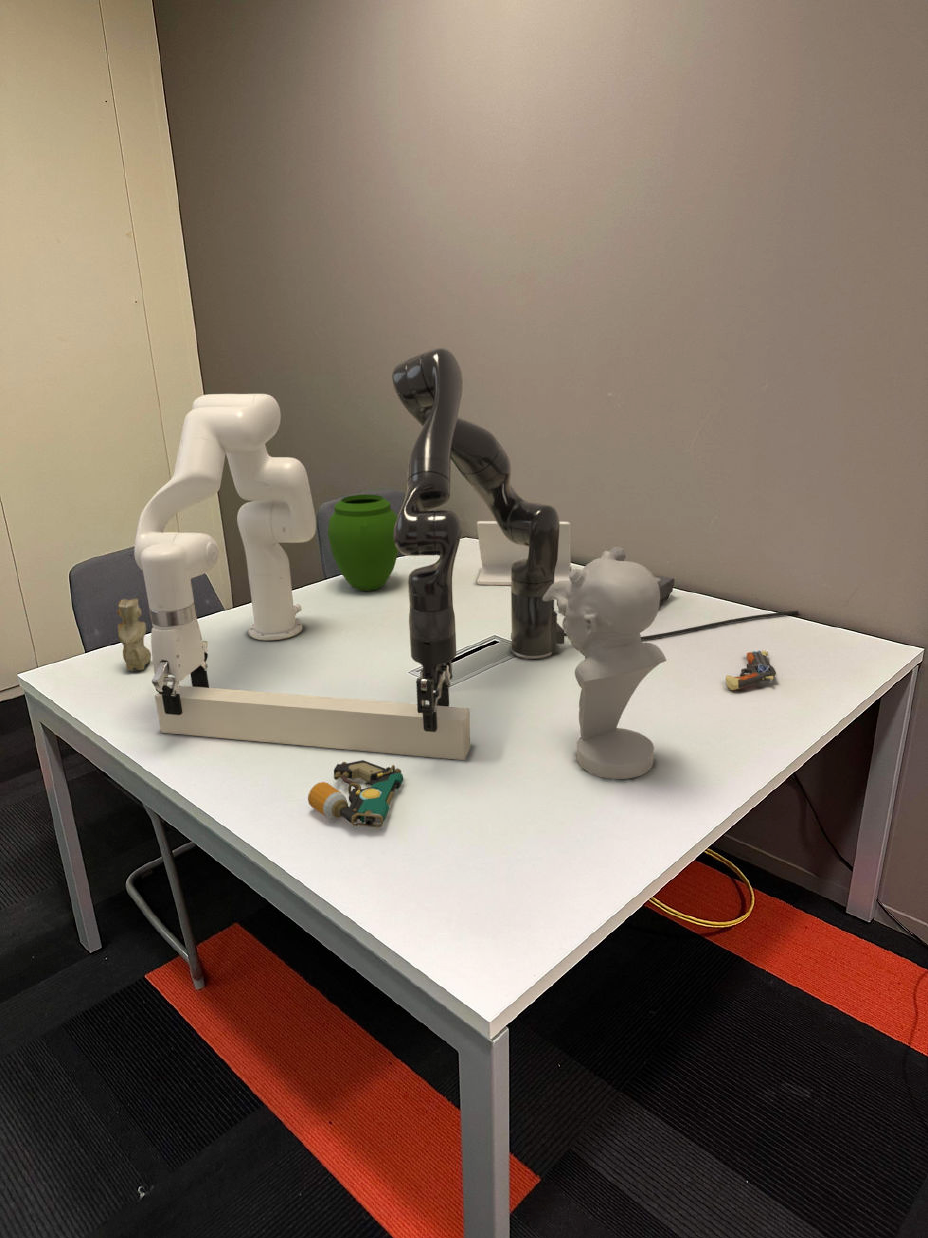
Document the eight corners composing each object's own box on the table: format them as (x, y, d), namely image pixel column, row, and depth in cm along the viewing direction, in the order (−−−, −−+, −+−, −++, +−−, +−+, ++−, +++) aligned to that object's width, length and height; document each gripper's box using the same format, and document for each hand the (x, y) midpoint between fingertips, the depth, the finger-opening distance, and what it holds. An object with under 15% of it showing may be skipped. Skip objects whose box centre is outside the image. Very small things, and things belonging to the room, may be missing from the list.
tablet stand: (569, 585, 229) (570, 524, 223) (476, 584, 232) (475, 523, 226) (570, 566, 246) (571, 508, 240) (484, 564, 249) (483, 507, 243)
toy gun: (727, 680, 165) (782, 677, 163) (718, 649, 183) (767, 646, 181) (728, 693, 166) (782, 690, 164) (719, 661, 184) (767, 658, 182)
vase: (418, 582, 236) (413, 495, 227) (374, 603, 220) (368, 510, 212) (362, 572, 246) (356, 488, 237) (317, 591, 230) (309, 503, 222)
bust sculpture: (592, 709, 161) (598, 528, 148) (680, 765, 141) (694, 562, 128) (520, 730, 154) (519, 542, 141) (601, 792, 134) (608, 580, 121)
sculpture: (156, 659, 189) (146, 595, 184) (147, 672, 183) (135, 606, 177) (130, 660, 189) (118, 596, 184) (119, 673, 182) (107, 608, 177)
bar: (470, 746, 149) (469, 708, 146) (464, 760, 145) (463, 720, 142) (174, 720, 161) (168, 684, 159) (161, 732, 157) (154, 695, 154)
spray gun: (349, 769, 144) (428, 790, 138) (290, 816, 130) (376, 841, 124) (349, 746, 143) (429, 767, 137) (289, 791, 128) (375, 816, 122)
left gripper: (179, 596, 158) (193, 679, 165) (126, 631, 143) (143, 722, 149) (216, 598, 157) (228, 682, 163) (166, 634, 141) (182, 725, 147)
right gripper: (421, 614, 147) (426, 699, 153) (398, 646, 134) (404, 737, 140) (464, 616, 145) (467, 702, 151) (444, 648, 132) (448, 741, 138)
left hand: (187, 701), depth 156 cm, fingers open, 9 cm apart
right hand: (436, 718), depth 145 cm, fingers open, 8 cm apart
